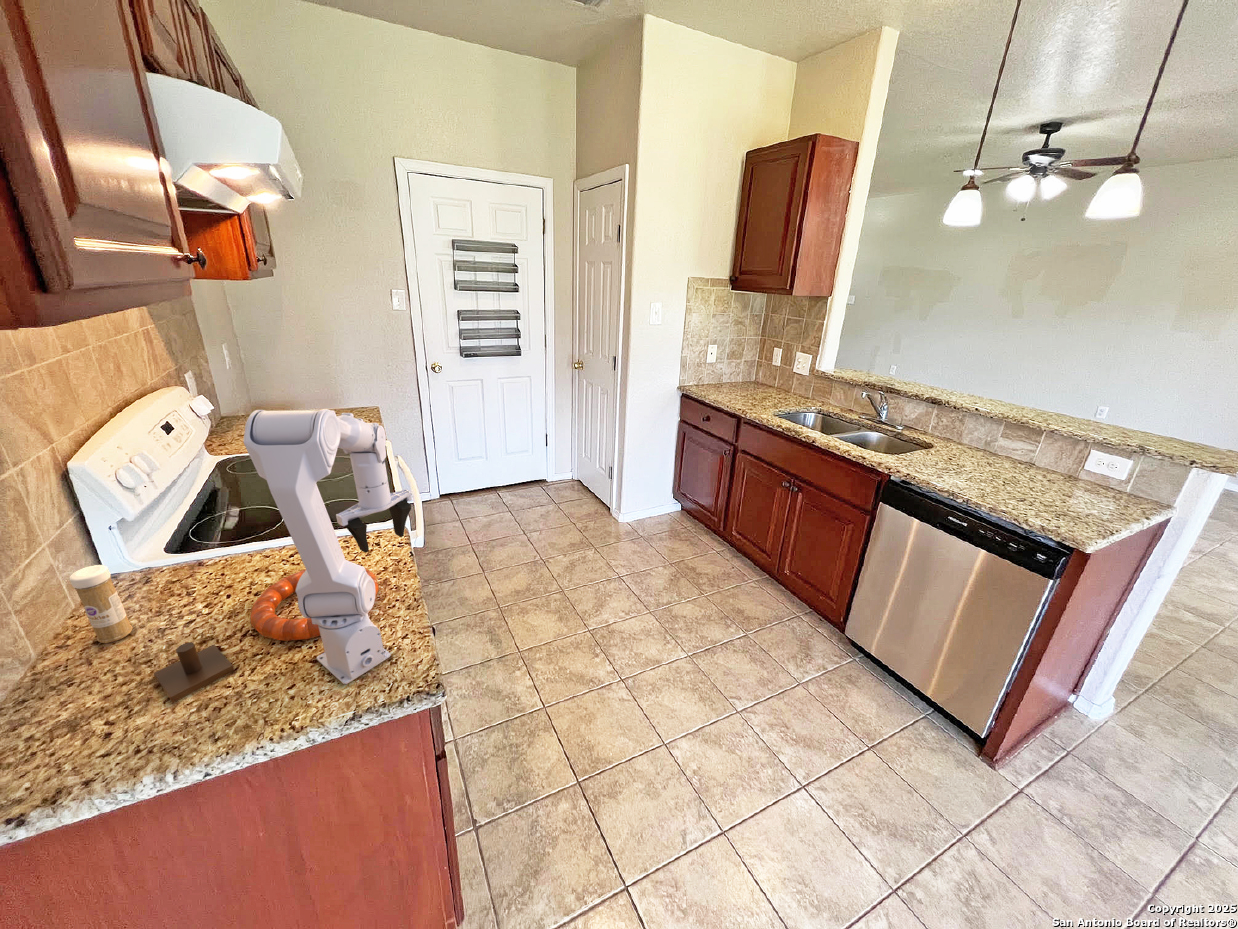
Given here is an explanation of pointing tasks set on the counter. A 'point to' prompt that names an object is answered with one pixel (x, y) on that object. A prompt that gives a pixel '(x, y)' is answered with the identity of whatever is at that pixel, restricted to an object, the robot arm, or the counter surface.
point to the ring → (282, 627)
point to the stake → (192, 670)
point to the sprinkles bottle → (101, 603)
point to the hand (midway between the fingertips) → (382, 542)
